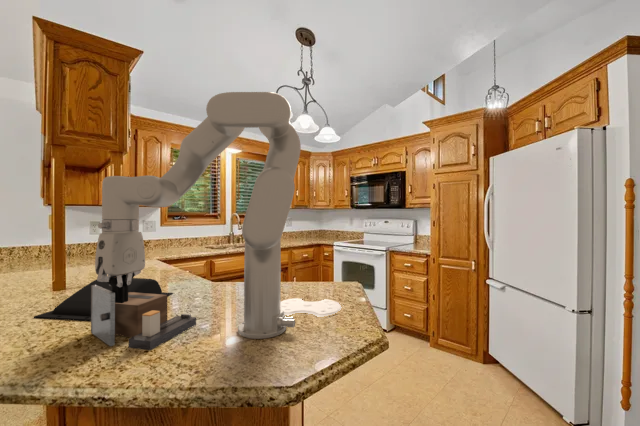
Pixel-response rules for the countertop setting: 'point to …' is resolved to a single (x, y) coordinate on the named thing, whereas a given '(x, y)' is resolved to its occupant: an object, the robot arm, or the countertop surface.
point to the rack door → (103, 314)
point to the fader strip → (163, 332)
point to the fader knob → (150, 323)
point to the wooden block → (137, 312)
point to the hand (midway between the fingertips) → (120, 301)
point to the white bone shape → (310, 307)
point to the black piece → (80, 301)
